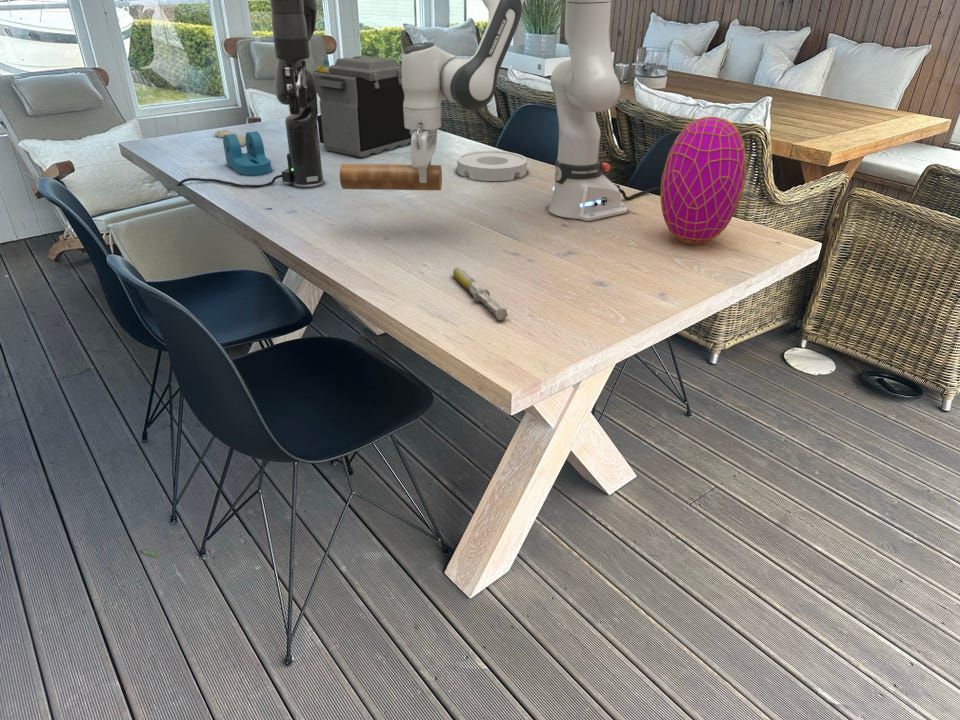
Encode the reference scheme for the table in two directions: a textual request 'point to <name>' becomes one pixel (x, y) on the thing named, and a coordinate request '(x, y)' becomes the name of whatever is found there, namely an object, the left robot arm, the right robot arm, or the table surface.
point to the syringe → (479, 293)
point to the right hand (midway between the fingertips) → (425, 177)
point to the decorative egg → (703, 179)
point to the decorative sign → (226, 132)
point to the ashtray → (492, 165)
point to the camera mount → (246, 154)
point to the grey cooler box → (361, 106)
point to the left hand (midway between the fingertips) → (299, 110)
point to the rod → (388, 177)
